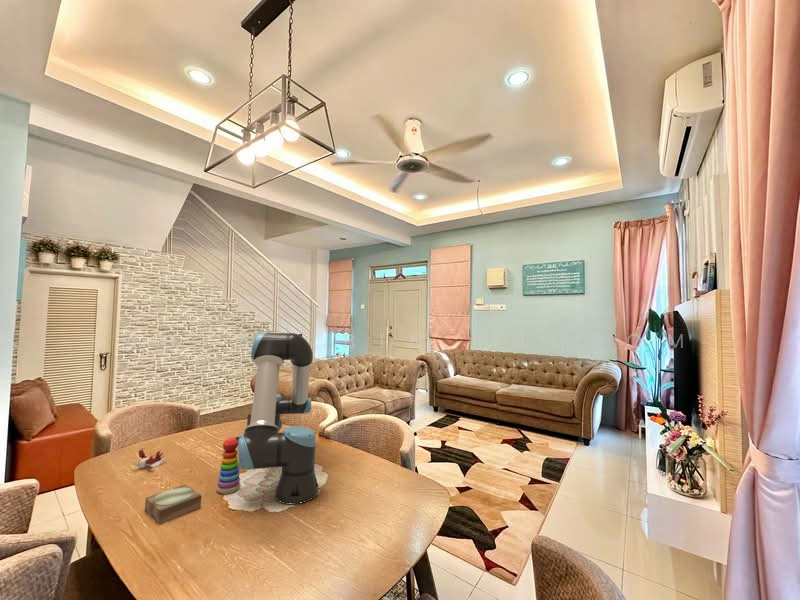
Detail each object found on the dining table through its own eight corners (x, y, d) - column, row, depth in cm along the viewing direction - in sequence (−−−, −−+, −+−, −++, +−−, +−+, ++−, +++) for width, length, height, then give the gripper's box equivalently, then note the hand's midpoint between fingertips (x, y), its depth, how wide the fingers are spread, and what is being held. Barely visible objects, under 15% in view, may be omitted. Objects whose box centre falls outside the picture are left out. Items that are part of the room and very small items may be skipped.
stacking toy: (244, 485, 130) (247, 435, 131) (232, 495, 122) (235, 442, 123) (224, 483, 131) (228, 433, 132) (211, 493, 123) (214, 440, 124)
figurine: (173, 467, 143) (174, 451, 144) (140, 477, 134) (141, 459, 134) (158, 458, 152) (159, 442, 152) (126, 466, 142) (127, 450, 143)
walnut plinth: (200, 507, 114) (201, 494, 114) (159, 524, 104) (160, 509, 105) (184, 495, 121) (185, 483, 121) (144, 510, 111) (145, 496, 112)
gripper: (289, 443, 157) (271, 462, 135) (236, 441, 157) (209, 459, 136) (290, 426, 157) (272, 443, 136) (237, 424, 158) (210, 440, 136)
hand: (240, 451), depth 136 cm, fingers open, 13 cm apart
